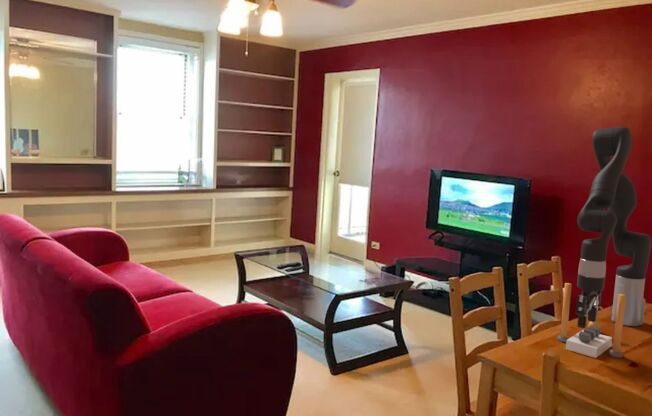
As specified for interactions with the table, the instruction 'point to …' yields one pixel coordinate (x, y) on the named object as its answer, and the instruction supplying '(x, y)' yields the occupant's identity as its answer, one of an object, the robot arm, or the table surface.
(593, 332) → the paddle mid
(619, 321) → the post
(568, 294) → the post
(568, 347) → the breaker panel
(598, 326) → the figurine
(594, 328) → the paddle
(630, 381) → the table surface
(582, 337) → the paddle
